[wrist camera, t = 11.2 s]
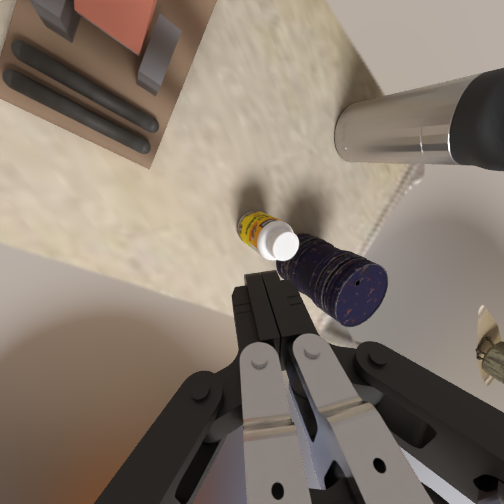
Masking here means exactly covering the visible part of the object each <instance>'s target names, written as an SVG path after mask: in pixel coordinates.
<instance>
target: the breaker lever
mask: <svg viewBox="0 0 504 504" xmlns="http://www.w3.org/2000/svg"><path fill="white" fill-rule="evenodd" d="M156 3H157V0H74V10H75V11H77V13H78V14H79V15H80V16H82V17H83V18H84V19H86V20H87V21H89V22H90V23H92V24H93V25H94V26H96V27H97V28H99V29H100V30H102V31H103V32H104V33H106V34H107V35H109V36H110V37H112V38H113V39H115V40H116V41H117V42H119V43H120V44H122V45H123V46H125V47H126V48H127V49H129V50H130V51H132V52H133V53H135V54H136V55H137V56H139V55H140V52H141V50H142V48H143V45H144V43H145V40H146V38H147V35H148V32H149V28H150V24H151V21H152V17H153V13H154V10H155V6H156Z"/></svg>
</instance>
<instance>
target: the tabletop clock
mask: <svg viewBox="0 0 504 504" xmlns="http://www.w3.org/2000/svg"><path fill="white" fill-rule="evenodd" d="M486 339H487V340H489V341H490V343H491V345H492V346H491V347H490V348H489V349H488V351H487V352H486V353H484V352H481V351H480V349H476V352H478V353H482V354H484V358H481V357H480V356H477V359H479V360H481V359H482V360H483V361H482V369H483V370H484V371H485V372H487V373H488V374H489V375H491V376H492V377H494V378H495V379H497V380H498V381H500V382H502V383H504V342H502V341H501V342H499V343H497V344H493V342H492V341H491V338H490V337H486Z"/></svg>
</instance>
